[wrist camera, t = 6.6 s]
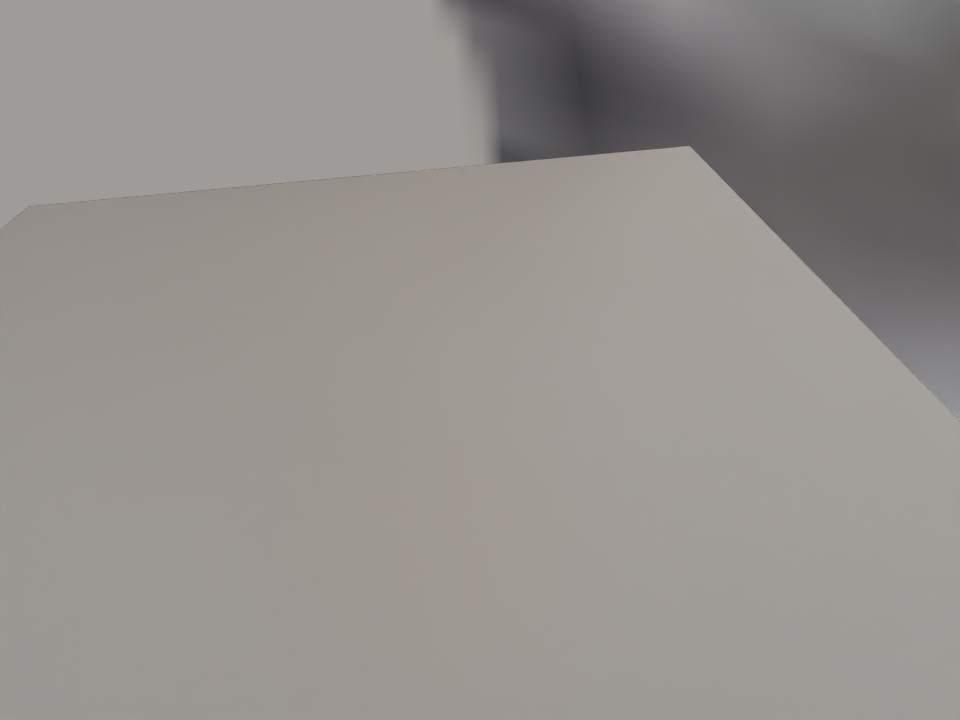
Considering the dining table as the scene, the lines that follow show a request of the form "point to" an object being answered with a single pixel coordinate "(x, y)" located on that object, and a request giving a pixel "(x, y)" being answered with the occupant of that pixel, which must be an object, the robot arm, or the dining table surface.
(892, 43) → the dining table surface
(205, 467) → the plain white closed box
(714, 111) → the dining table surface
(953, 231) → the dining table surface
